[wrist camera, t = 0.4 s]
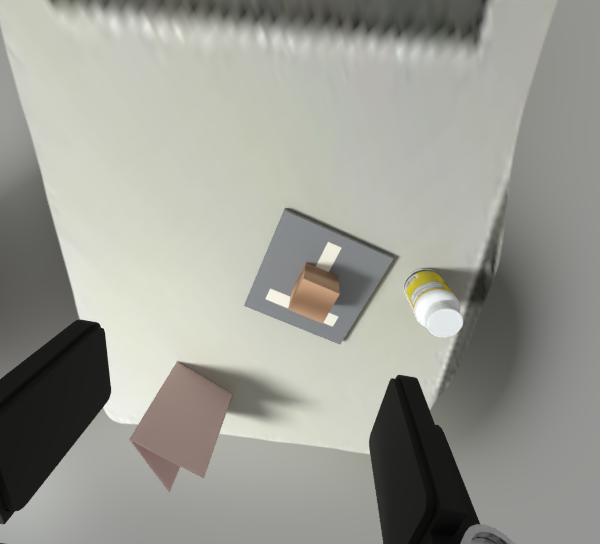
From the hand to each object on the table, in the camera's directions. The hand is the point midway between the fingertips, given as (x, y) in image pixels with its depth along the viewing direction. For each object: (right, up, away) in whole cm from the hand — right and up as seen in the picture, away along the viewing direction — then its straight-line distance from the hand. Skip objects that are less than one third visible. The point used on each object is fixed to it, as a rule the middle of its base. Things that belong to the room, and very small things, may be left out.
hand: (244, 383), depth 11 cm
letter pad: (+4, +2, +36) cm, 37 cm away
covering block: (+4, +2, +35) cm, 36 cm away
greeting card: (-15, -16, +47) cm, 52 cm away
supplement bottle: (+19, +2, +36) cm, 40 cm away
